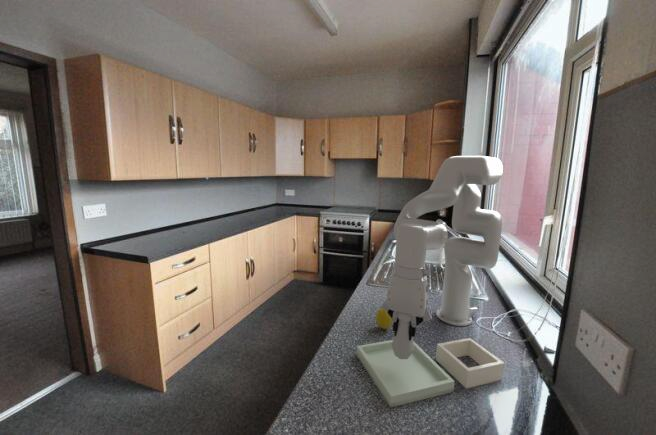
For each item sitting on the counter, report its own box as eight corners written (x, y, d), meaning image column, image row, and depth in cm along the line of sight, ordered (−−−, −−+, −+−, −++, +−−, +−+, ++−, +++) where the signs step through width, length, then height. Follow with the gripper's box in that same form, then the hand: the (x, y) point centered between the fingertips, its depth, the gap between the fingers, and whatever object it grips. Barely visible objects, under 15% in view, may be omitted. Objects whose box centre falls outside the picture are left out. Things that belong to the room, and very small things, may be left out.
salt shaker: (387, 350, 80) (390, 307, 78) (403, 346, 82) (407, 303, 80) (400, 363, 74) (403, 317, 72) (417, 358, 77) (421, 313, 75)
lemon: (391, 334, 97) (393, 312, 96) (375, 331, 98) (376, 310, 97) (391, 325, 103) (392, 304, 101) (375, 323, 104) (377, 303, 103)
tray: (408, 345, 91) (409, 337, 91) (453, 391, 72) (454, 381, 72) (356, 355, 86) (357, 345, 85) (390, 407, 67) (391, 396, 66)
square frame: (468, 352, 89) (469, 337, 88) (502, 379, 77) (504, 362, 76) (435, 359, 85) (437, 343, 84) (466, 388, 74) (468, 371, 73)
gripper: (444, 272, 74) (437, 338, 77) (382, 261, 81) (378, 321, 84) (440, 282, 67) (433, 353, 70) (374, 269, 75) (370, 334, 78)
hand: (403, 335), depth 77 cm, fingers closed on salt shaker, 3 cm apart
